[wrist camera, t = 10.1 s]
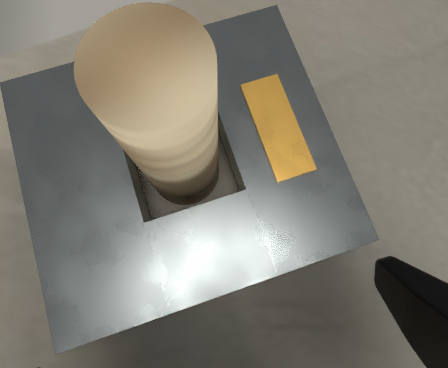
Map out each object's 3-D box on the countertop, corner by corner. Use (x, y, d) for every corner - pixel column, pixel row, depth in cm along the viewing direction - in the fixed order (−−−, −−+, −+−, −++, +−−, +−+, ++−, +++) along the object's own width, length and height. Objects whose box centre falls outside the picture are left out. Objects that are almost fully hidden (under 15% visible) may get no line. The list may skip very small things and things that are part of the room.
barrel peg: (232, 172, 23) (246, 64, 11) (183, 218, 22) (139, 159, 10) (186, 128, 23) (151, -22, 11) (138, 171, 23) (43, 61, 10)
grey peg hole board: (357, 243, 22) (380, 239, 19) (79, 341, 20) (53, 355, 17) (270, 35, 25) (277, 2, 22) (26, 105, 24) (-3, 80, 20)
